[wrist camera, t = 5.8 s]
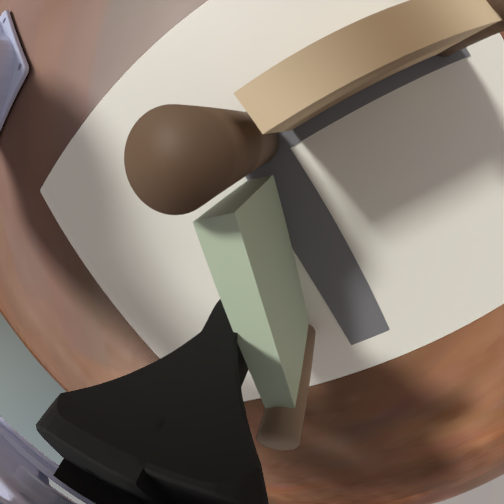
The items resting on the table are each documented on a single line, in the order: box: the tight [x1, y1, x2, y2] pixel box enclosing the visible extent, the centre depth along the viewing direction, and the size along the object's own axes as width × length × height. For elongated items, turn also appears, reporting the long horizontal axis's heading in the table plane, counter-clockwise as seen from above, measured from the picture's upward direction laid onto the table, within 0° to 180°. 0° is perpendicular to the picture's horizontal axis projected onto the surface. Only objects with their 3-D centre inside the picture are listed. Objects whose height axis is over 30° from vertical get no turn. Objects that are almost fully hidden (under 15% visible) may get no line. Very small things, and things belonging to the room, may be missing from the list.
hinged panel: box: [193, 175, 316, 450], centre depth 9 cm, size 8×1×6 cm, turn 16°
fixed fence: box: [124, 0, 504, 215], centre depth 6 cm, size 10×2×6 cm, turn 125°
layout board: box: [40, 0, 504, 401], centre depth 11 cm, size 18×24×1 cm
